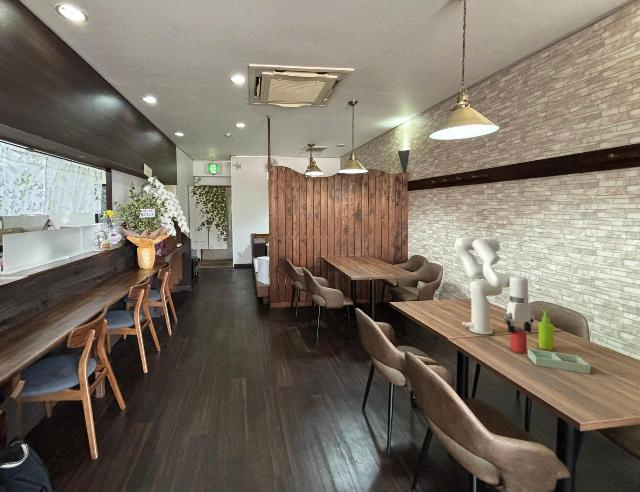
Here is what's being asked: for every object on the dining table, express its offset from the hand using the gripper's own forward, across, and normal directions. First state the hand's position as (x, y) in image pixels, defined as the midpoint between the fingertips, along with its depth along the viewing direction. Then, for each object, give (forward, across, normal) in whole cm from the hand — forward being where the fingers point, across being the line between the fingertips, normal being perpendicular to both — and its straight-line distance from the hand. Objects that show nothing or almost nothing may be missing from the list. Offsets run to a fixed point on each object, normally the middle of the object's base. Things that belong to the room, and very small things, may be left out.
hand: (519, 332), depth 152 cm
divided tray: (+11, -5, +14) cm, 18 cm away
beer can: (+10, 0, -1) cm, 11 cm away
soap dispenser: (+10, -18, -3) cm, 21 cm away
